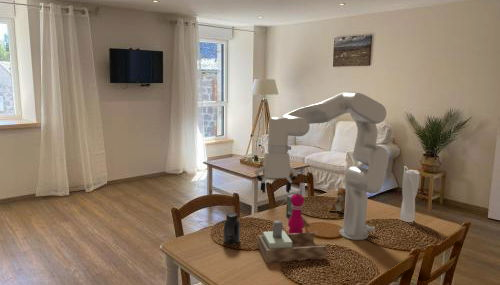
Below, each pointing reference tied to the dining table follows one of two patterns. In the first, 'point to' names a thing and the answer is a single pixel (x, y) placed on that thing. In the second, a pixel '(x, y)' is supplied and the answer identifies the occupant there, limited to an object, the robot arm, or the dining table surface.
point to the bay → (293, 249)
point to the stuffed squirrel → (339, 200)
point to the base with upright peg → (277, 237)
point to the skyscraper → (409, 195)
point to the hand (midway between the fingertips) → (275, 191)
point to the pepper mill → (296, 214)
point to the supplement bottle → (232, 228)
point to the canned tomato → (289, 206)
